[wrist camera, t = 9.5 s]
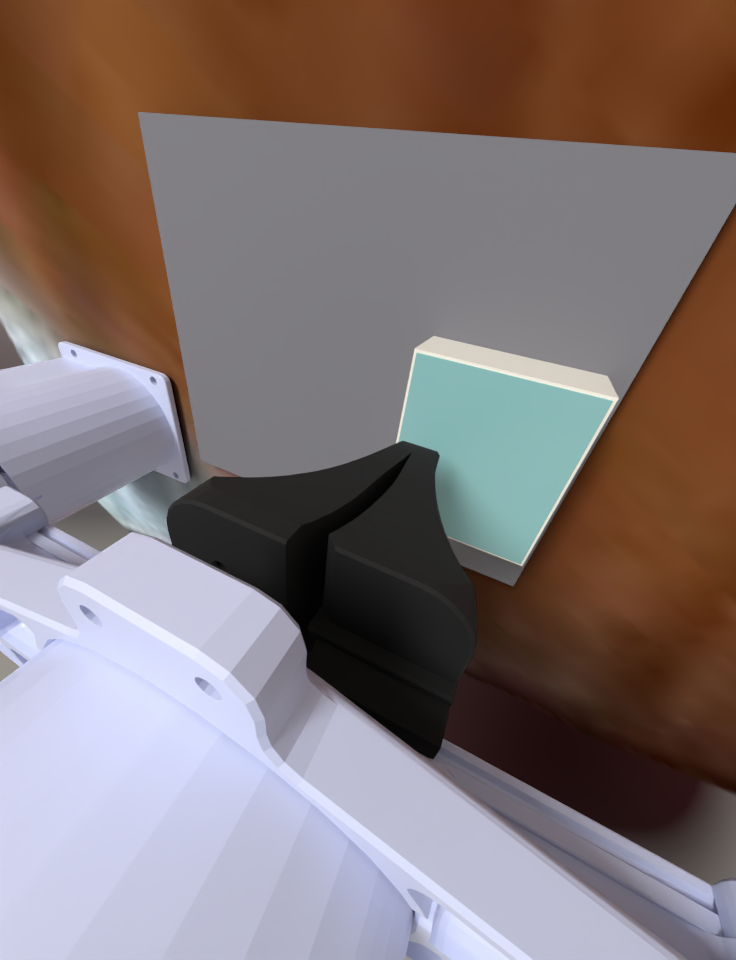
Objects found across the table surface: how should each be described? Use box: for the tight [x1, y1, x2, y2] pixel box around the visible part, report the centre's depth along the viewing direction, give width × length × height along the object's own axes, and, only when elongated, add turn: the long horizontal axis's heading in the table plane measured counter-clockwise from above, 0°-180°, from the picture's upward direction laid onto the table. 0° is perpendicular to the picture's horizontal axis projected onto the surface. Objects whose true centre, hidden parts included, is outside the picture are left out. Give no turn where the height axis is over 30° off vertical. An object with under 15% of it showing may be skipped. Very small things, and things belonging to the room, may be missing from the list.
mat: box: [138, 112, 736, 586], centre depth 16 cm, size 20×16×1 cm
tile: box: [396, 336, 619, 566], centre depth 13 cm, size 2×7×6 cm
